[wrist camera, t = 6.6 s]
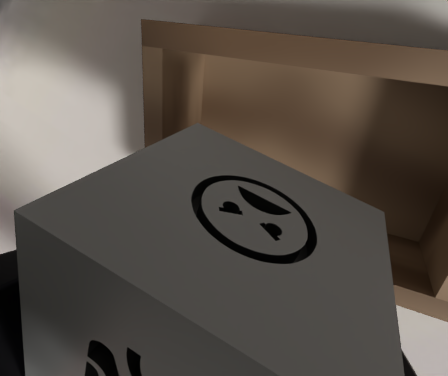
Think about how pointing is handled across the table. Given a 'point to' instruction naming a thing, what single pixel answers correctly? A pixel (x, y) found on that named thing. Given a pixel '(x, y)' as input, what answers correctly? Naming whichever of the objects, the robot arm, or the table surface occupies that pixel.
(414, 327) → the table surface
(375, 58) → the open wooden box
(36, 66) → the table surface
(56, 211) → the dice cube
